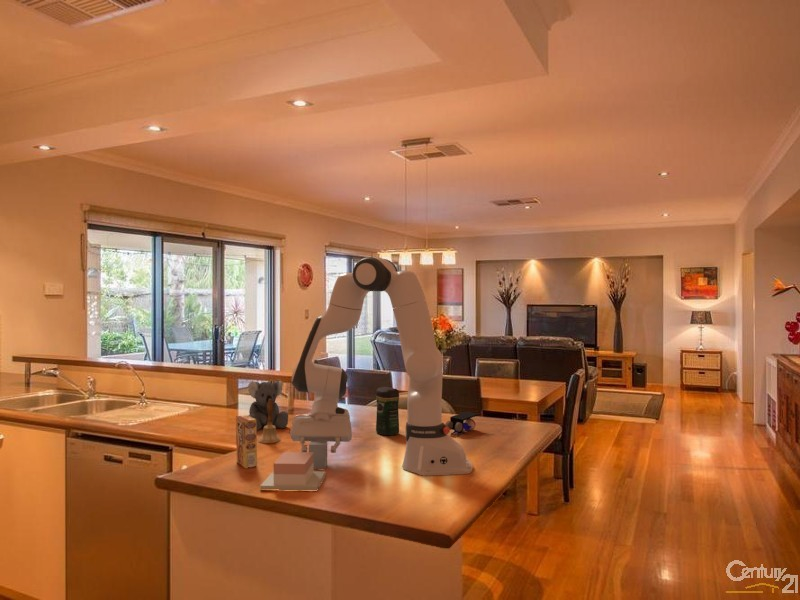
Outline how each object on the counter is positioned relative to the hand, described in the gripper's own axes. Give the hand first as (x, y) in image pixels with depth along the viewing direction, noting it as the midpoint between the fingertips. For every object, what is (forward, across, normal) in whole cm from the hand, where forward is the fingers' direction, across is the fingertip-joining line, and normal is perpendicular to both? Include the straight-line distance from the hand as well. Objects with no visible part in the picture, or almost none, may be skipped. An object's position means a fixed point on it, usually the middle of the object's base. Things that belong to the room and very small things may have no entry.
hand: (318, 451), depth 184 cm
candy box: (+2, -24, +5) cm, 25 cm away
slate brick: (+4, 0, +3) cm, 5 cm away
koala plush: (-37, -34, +44) cm, 67 cm away
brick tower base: (+15, -4, -8) cm, 18 cm away
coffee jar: (-29, +19, +37) cm, 51 cm away
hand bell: (-19, -25, +27) cm, 41 cm away
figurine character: (-31, +49, +39) cm, 70 cm away
